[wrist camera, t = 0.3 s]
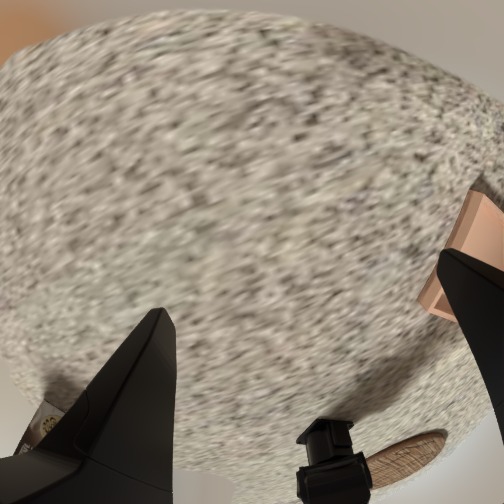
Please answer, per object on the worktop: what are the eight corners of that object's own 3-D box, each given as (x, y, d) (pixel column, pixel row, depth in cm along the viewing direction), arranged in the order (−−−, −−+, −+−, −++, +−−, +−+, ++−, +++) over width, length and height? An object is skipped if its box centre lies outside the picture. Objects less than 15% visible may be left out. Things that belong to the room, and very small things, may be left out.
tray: (474, 323, 28) (483, 332, 25) (416, 300, 26) (427, 311, 24) (517, 236, 23) (529, 242, 21) (469, 189, 22) (483, 193, 19)
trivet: (318, 477, 41) (320, 484, 39) (431, 417, 36) (435, 424, 34) (364, 491, 48) (365, 496, 46) (448, 445, 42) (451, 450, 41)
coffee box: (44, 412, 35) (13, 471, 20) (43, 398, 33) (6, 462, 18) (84, 437, 37) (58, 500, 21) (86, 425, 35) (57, 495, 20)
